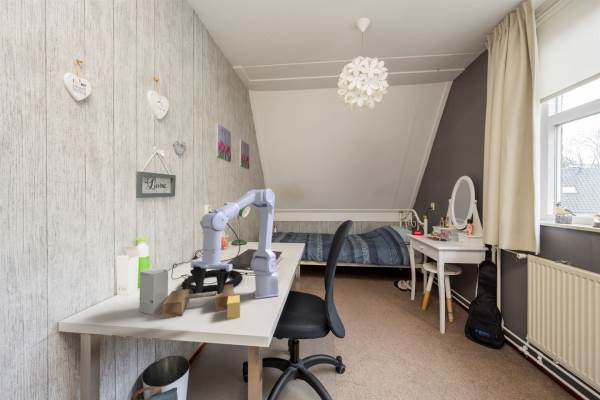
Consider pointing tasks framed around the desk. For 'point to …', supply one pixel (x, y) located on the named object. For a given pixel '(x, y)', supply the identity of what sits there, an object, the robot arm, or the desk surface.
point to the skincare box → (153, 290)
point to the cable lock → (210, 288)
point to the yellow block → (233, 307)
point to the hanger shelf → (180, 298)
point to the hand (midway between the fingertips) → (209, 291)
